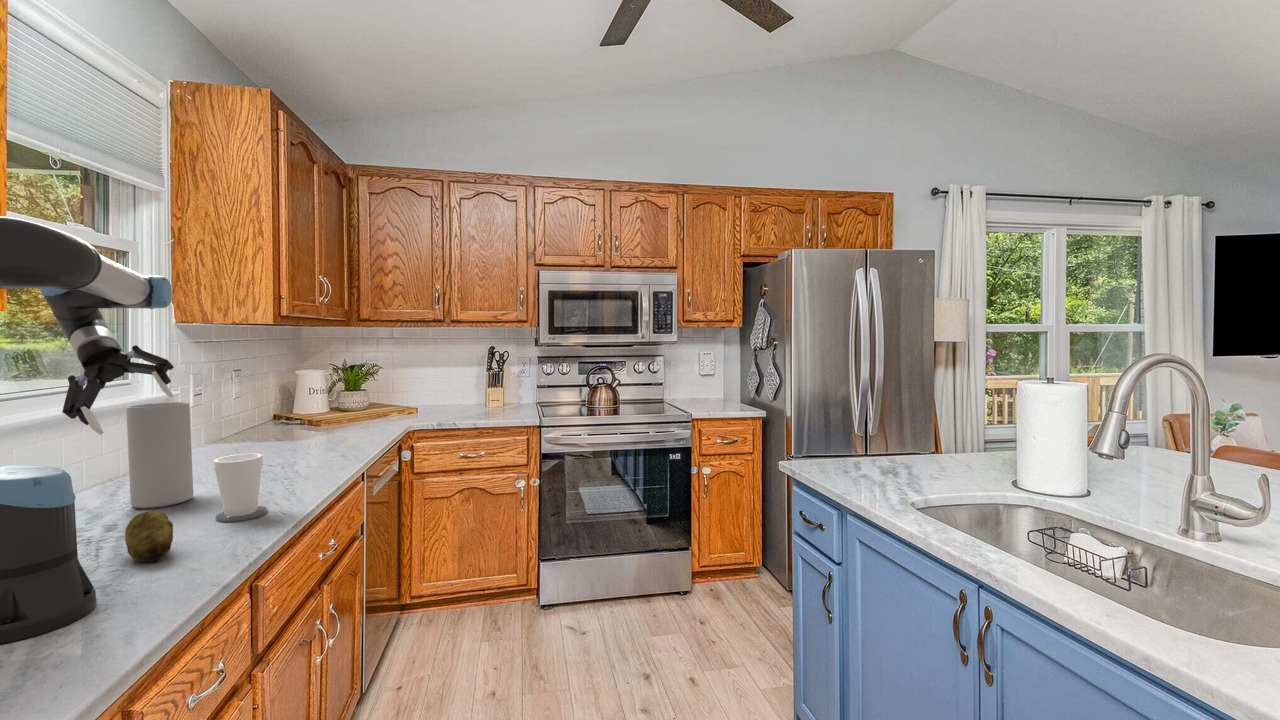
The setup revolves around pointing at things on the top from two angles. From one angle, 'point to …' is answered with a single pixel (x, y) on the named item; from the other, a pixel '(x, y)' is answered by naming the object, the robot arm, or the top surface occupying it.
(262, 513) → the coaster
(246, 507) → the foam cup
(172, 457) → the cylinder vase
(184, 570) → the top surface
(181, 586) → the top surface
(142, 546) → the potato
